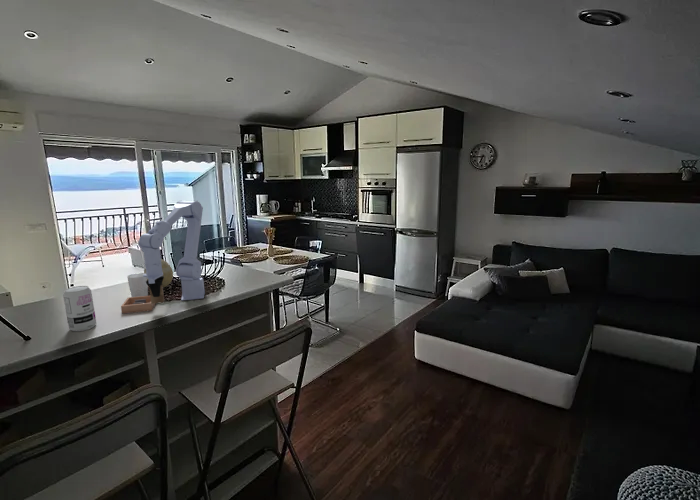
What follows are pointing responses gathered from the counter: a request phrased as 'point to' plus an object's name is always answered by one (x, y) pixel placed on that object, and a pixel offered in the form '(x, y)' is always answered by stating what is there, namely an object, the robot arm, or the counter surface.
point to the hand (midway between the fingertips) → (157, 295)
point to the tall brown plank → (157, 299)
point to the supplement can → (79, 308)
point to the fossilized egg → (165, 273)
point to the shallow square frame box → (137, 304)
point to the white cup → (138, 284)
